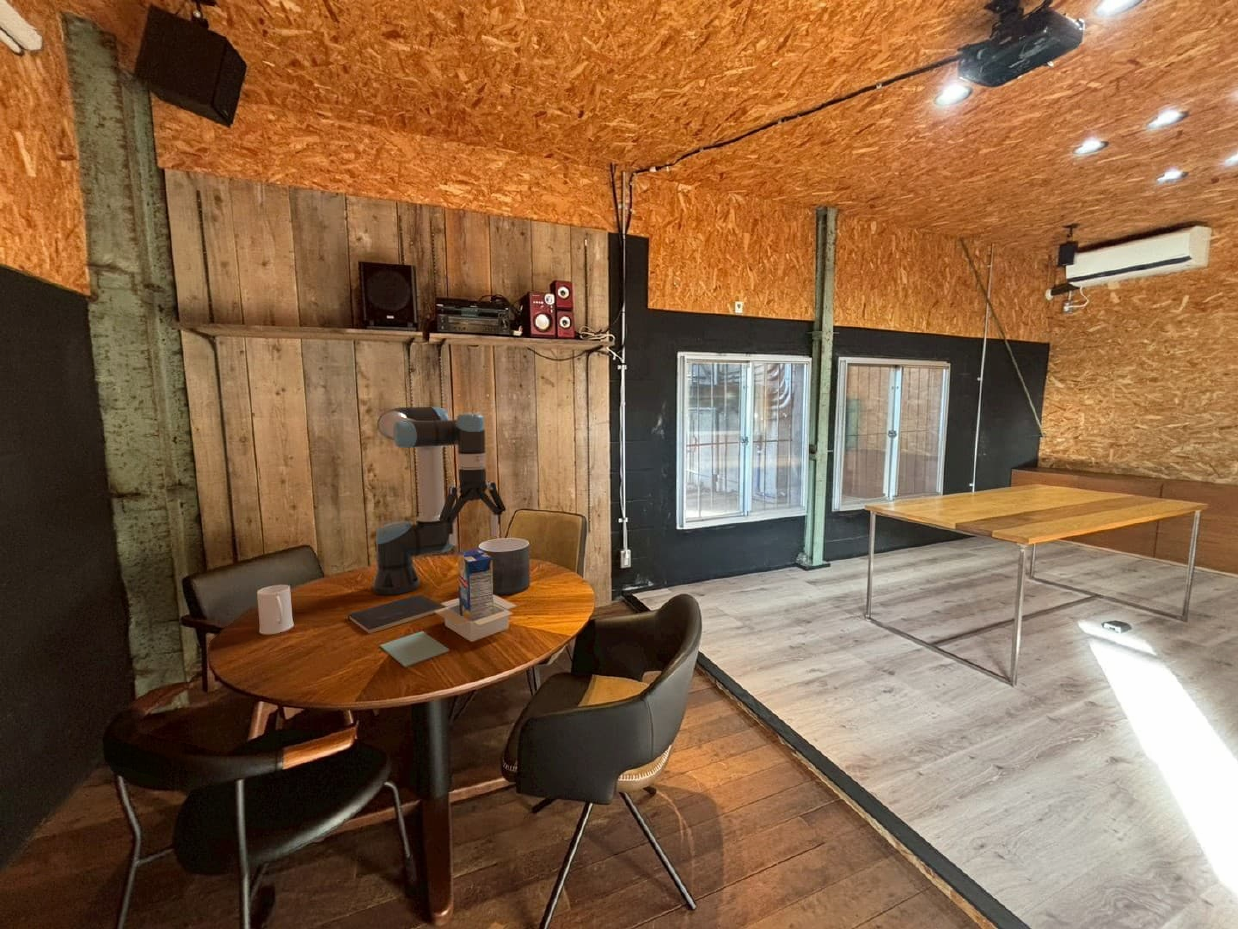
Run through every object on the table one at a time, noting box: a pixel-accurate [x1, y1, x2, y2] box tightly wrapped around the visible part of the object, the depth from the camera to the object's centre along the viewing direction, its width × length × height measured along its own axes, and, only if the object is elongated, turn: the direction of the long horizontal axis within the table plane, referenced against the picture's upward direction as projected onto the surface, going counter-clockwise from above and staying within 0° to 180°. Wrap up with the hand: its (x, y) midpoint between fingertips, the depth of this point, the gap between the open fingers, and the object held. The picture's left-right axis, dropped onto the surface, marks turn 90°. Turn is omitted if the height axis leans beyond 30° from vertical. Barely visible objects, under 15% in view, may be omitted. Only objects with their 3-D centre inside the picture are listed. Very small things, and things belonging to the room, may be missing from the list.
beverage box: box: [457, 548, 494, 622], centre depth 152 cm, size 7×11×22 cm, turn 33°
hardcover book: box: [347, 593, 444, 635], centre depth 162 cm, size 16×23×2 cm
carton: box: [434, 595, 518, 643], centre depth 153 cm, size 22×19×6 cm
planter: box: [478, 537, 531, 596], centre depth 186 cm, size 18×18×16 cm
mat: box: [379, 630, 450, 668], centre depth 140 cm, size 16×12×1 cm
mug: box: [256, 584, 295, 635], centre depth 150 cm, size 12×8×12 cm
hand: (474, 540), depth 150 cm, fingers open, 13 cm apart
